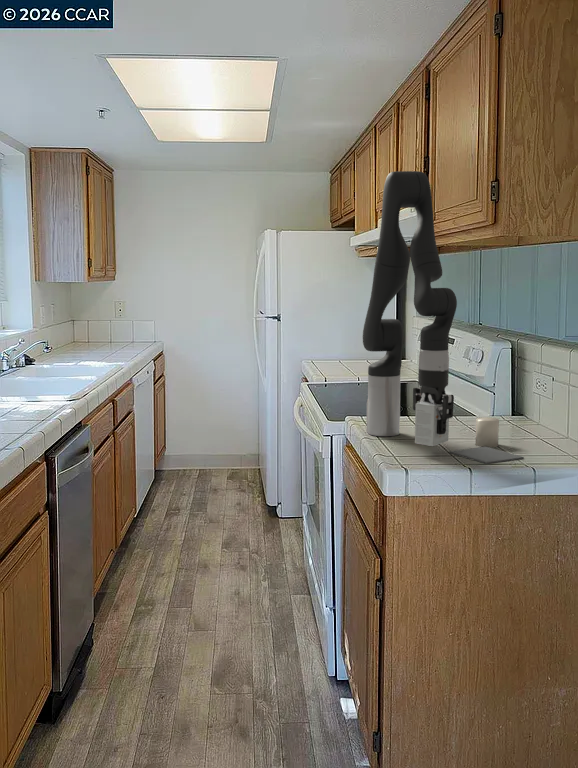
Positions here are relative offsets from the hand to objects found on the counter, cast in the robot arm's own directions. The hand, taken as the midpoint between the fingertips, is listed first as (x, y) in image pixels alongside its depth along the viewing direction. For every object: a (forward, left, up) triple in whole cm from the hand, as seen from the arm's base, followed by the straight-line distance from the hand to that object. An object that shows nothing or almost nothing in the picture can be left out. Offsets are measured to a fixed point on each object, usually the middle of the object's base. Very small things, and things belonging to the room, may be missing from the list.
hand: (431, 431), depth 199 cm
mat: (+8, +11, -6) cm, 15 cm away
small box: (0, 0, -3) cm, 3 cm away
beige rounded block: (-2, +20, -6) cm, 21 cm away
